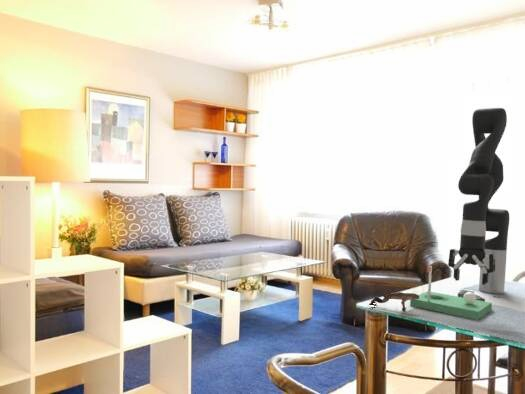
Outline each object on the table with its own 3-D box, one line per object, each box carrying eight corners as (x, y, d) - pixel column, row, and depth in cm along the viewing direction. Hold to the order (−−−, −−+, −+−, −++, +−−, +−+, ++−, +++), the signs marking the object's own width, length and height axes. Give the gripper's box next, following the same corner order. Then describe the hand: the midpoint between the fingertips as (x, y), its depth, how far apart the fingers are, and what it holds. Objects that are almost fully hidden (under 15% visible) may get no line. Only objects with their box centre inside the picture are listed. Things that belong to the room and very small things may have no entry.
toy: (383, 326, 156) (421, 302, 151) (367, 303, 157) (405, 279, 153) (385, 321, 161) (422, 298, 156) (369, 300, 162) (406, 276, 158)
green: (427, 297, 174) (427, 291, 174) (491, 310, 160) (491, 302, 160) (410, 305, 162) (410, 298, 162) (477, 319, 148) (478, 311, 147)
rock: (490, 304, 169) (491, 292, 169) (474, 307, 163) (474, 295, 163) (470, 299, 175) (471, 288, 175) (454, 302, 169) (455, 291, 169)
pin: (428, 300, 159) (429, 265, 159) (430, 301, 159) (432, 266, 158) (424, 302, 157) (426, 266, 156) (427, 302, 156) (429, 267, 156)
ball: (464, 301, 160) (465, 290, 160) (477, 304, 157) (478, 292, 157) (461, 303, 157) (461, 292, 156) (473, 306, 154) (474, 294, 154)
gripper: (499, 235, 154) (496, 284, 155) (454, 231, 163) (452, 277, 164) (493, 236, 149) (490, 287, 149) (447, 232, 158) (444, 280, 158)
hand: (470, 282), depth 156 cm, fingers open, 8 cm apart
